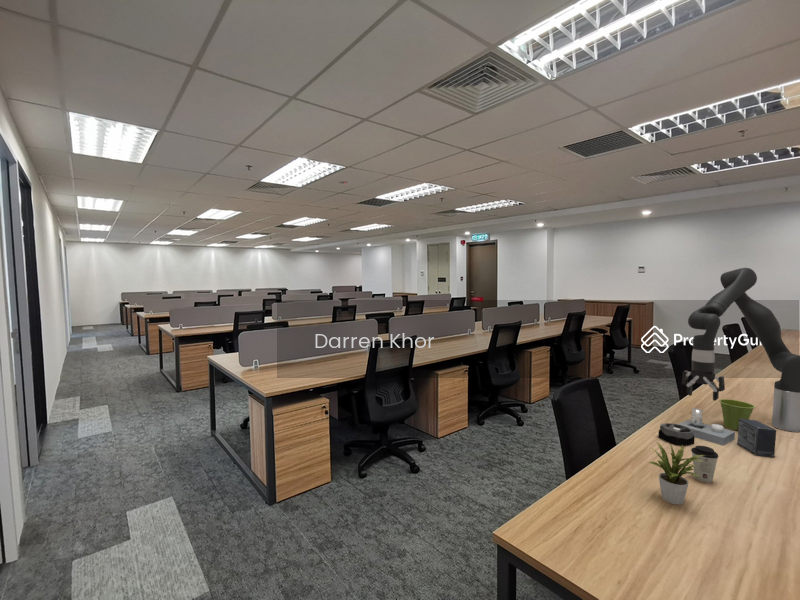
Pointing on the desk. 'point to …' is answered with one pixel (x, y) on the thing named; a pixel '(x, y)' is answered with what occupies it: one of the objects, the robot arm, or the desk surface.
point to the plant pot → (735, 412)
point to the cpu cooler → (676, 434)
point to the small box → (756, 437)
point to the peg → (697, 418)
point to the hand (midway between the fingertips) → (702, 397)
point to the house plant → (674, 475)
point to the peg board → (711, 432)
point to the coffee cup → (704, 463)
